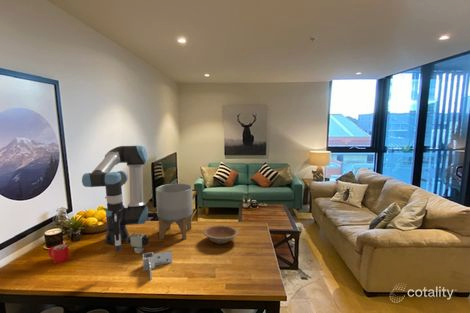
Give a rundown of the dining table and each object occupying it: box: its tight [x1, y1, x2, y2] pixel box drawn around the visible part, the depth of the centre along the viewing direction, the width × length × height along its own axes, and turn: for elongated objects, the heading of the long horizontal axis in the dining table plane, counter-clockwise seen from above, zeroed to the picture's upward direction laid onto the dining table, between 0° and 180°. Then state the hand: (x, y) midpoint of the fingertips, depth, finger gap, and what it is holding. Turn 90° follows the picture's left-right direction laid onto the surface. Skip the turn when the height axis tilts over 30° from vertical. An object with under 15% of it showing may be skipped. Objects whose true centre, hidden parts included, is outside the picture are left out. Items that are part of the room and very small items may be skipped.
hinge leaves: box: [142, 249, 173, 281], centre depth 144 cm, size 16×16×7 cm
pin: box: [112, 221, 122, 252], centre depth 139 cm, size 4×4×17 cm
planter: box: [155, 182, 194, 241], centre depth 187 cm, size 25×25×34 cm
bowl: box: [202, 224, 239, 245], centre depth 177 cm, size 24×24×8 cm
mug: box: [47, 243, 70, 264], centre depth 155 cm, size 8×12×8 cm, turn 86°
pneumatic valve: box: [127, 233, 150, 254], centre depth 163 cm, size 6×12×12 cm, turn 78°
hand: (118, 243), depth 140 cm, fingers closed on pin, 3 cm apart
